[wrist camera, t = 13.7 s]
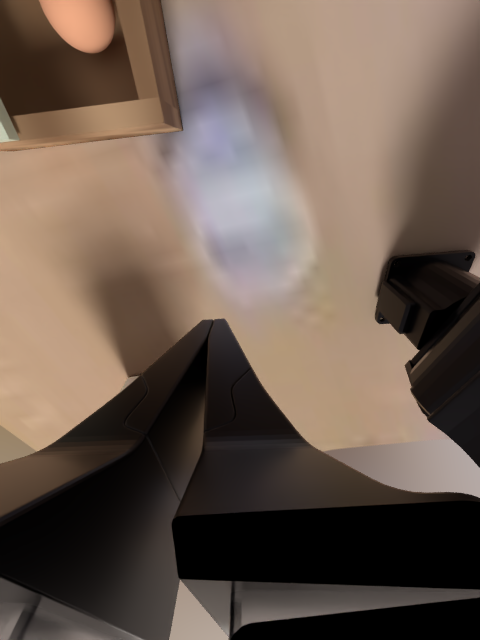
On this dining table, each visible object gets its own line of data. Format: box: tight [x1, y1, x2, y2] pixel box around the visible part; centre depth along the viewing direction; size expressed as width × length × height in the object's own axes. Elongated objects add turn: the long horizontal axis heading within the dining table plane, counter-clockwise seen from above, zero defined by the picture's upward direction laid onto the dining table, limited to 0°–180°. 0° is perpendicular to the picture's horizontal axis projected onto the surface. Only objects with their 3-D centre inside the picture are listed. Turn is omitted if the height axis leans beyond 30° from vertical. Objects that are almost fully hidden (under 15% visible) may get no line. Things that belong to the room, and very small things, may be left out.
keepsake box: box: [0, 0, 183, 151], centre depth 12 cm, size 12×10×4 cm
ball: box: [39, 0, 115, 53], centre depth 12 cm, size 3×3×3 cm
